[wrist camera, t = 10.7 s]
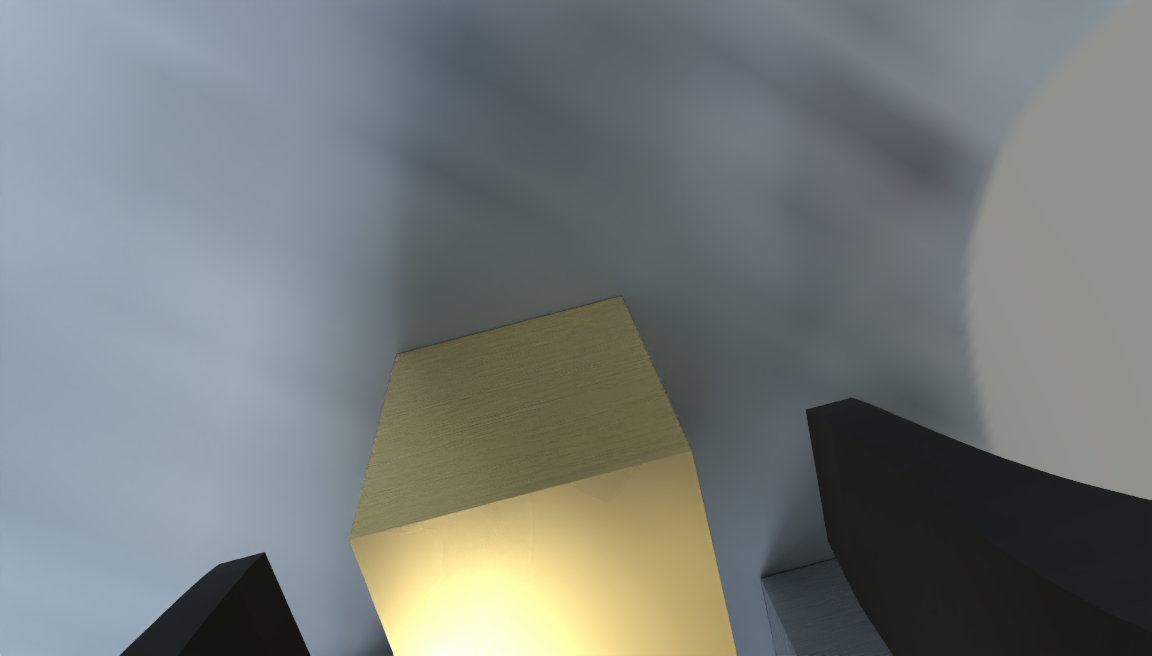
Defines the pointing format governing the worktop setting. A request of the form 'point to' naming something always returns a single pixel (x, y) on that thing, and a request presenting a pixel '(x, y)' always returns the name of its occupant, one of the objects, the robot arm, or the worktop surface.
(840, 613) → the housing
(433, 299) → the worktop surface
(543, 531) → the plug
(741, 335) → the worktop surface
